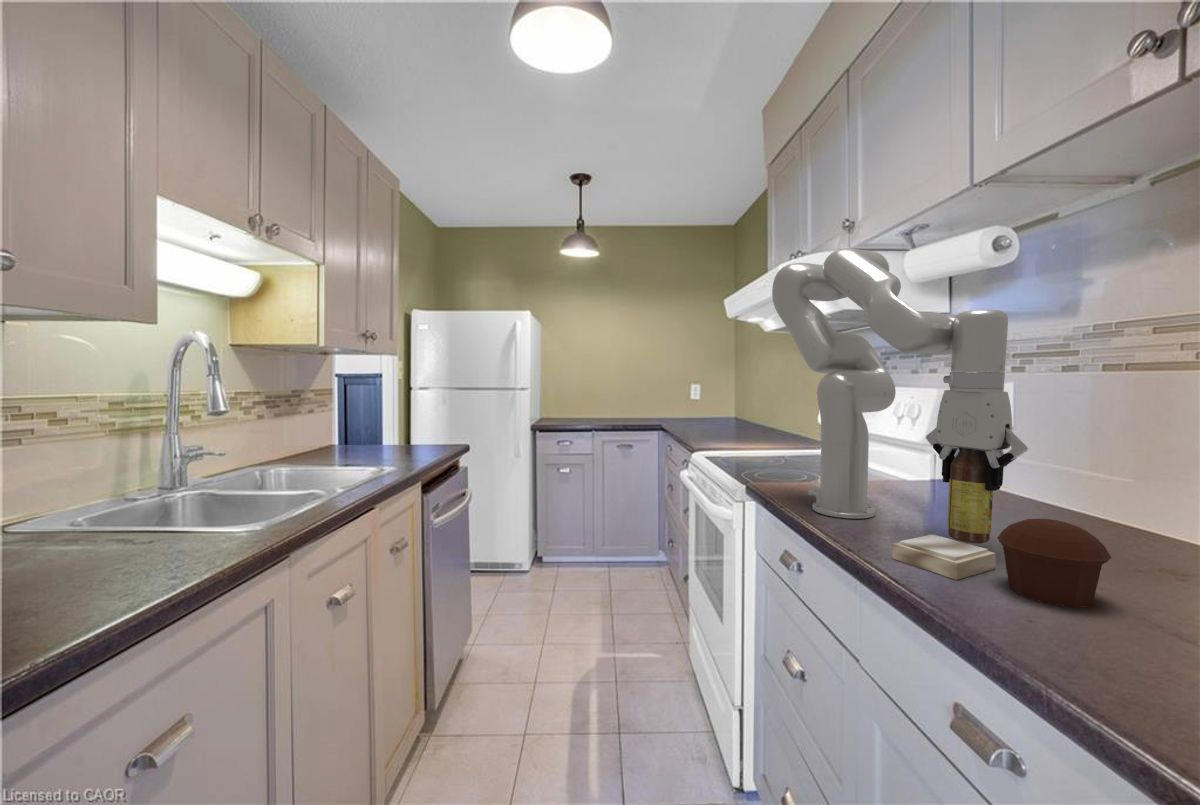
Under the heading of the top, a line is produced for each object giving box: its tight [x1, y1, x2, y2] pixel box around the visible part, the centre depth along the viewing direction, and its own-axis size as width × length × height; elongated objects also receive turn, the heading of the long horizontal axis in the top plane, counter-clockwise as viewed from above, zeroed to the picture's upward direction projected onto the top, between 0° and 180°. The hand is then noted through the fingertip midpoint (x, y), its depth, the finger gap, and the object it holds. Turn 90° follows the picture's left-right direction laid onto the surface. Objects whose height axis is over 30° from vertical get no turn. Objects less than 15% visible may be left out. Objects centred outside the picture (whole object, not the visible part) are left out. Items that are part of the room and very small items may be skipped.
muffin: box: [996, 518, 1112, 609], centre depth 70 cm, size 12×11×10 cm
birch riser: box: [892, 533, 997, 581], centre depth 82 cm, size 10×10×3 cm
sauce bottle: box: [947, 448, 994, 544], centre depth 89 cm, size 7×6×20 cm
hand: (970, 484), depth 89 cm, fingers closed on sauce bottle, 6 cm apart
